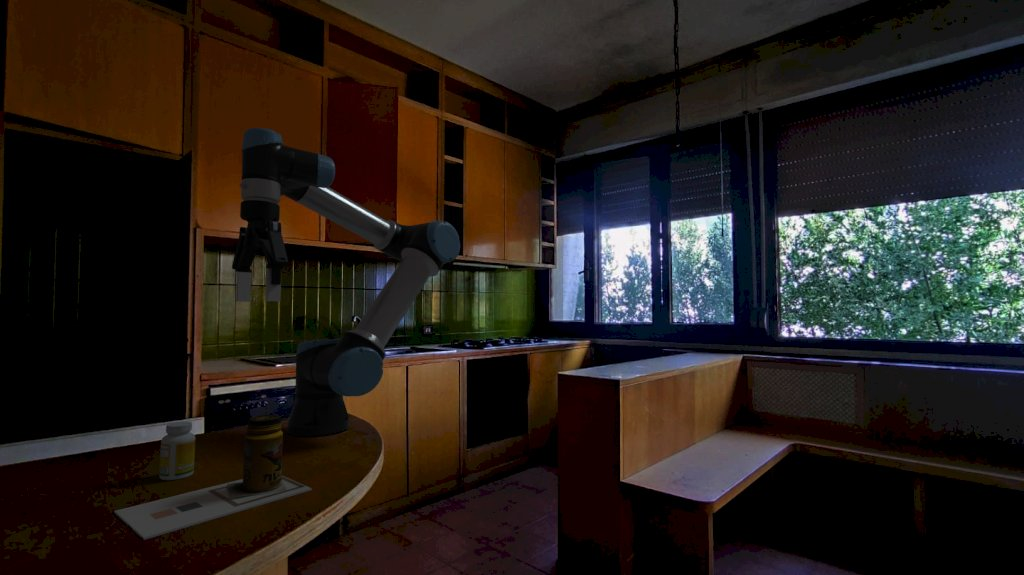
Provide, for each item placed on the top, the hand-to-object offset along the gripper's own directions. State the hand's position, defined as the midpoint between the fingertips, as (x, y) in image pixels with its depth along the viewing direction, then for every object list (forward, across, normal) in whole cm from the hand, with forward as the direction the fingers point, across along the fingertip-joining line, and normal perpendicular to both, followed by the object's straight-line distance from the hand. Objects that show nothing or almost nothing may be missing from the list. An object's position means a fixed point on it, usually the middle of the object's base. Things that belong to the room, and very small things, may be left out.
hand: (257, 301), depth 105 cm
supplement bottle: (+33, +1, -14) cm, 36 cm away
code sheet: (+33, +20, -14) cm, 41 cm away
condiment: (+33, +20, -8) cm, 39 cm away
